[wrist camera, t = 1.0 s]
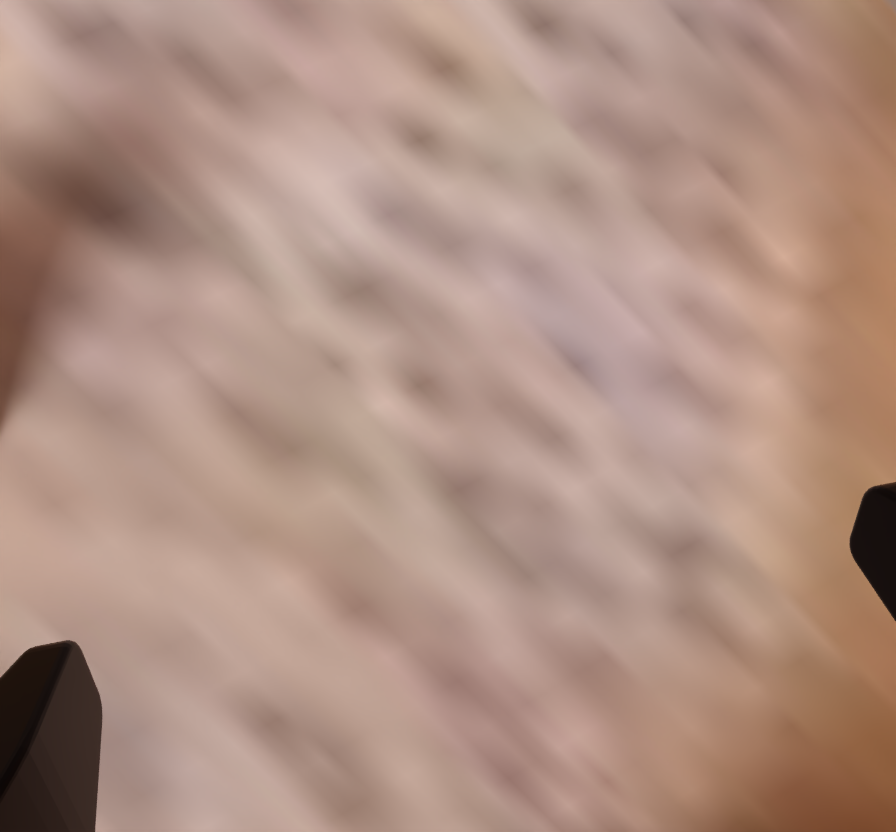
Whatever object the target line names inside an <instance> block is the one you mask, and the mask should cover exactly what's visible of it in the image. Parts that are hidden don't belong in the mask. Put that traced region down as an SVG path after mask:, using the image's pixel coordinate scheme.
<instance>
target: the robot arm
mask: <svg viewBox="0 0 896 832" xmlns="http://www.w3.org/2000/svg"><path fill="white" fill-rule="evenodd" d="M850 550H851V553H852V556H853V558H854V560H855V562H856V563H857V565H858V566H859V568H860V569H861V571H862V572H863V574H864V575H865V577H866V578H867V580H868V581H869V583H870V584H871V585H872V587H873V588H874V590H875V591H876V593H877V594H878V596H879V597H880V599H881V600H882V602H883V603H884V605H885V606H886V608H887V609H888V611H889V612H890V614H891V615H892V617H893V618H894V620H895V621H896V482H894V483H888V484H883V485H878V486H874V487H871V488H869V489H868V490H867V491H866V492H865V494H864V496H863V498H862V501H861V504H860V507H859V510H858V514H857V517H856V520H855V523H854V526H853V530H852V533H851V536H850ZM101 732H102V704H101V699H100V695H99V692H98V690H97V687H96V685H95V682H94V680H93V677H92V675H91V672H90V670H89V667H88V665H87V662H86V660H85V657H84V655H83V653H82V650H81V648H80V647H79V645H78V644H77V643H76V642H74V641H70V640H66V641H61V642H56V643H50V644H45V645H40V646H35V647H33V648H30V649H28V650H27V651H26V652H24V653H23V654H22V655H21V656H20V657H19V658H18V659H17V661H16V662H15V663H14V664H13V665H12V666H11V667H10V668H9V669H8V670H7V671H6V672H5V673H4V674H3V676H2V677H1V678H0V832H95V824H96V808H97V793H98V778H99V763H100V747H101Z"/></svg>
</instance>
